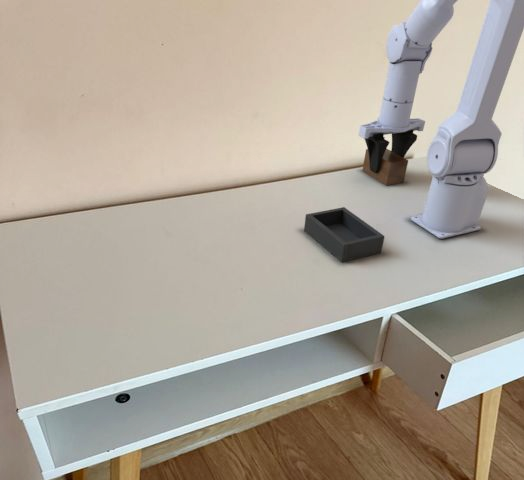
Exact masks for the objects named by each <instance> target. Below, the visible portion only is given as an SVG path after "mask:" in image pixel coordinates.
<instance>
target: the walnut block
mask: <svg viewBox="0 0 524 480" xmlns="http://www.w3.org/2000/svg"><path fill="white" fill-rule="evenodd" d="M408 164H409V160H408V159H407V158H405V157H404V158H403V157H401V156H399V155H398V154H396V153H394V152H392V151H391V150H390V149H388V147H387V148H386V150H385V153H384V155H383V159H382V163H381V167H380V170H379V172H378V173H374V172H372V171H371V170H370V162H369V153H368V148H366V149H365V154H364V160H363V165H362V170H361V171H362V172H364V173H365V174H367V175H368V176H369V177H372V178H373V179H375V180H376V181H378V182H380V183H381V184H383V185H385V186H390V185H396V184H402V183H404V181H405V178H406V173H407V168H408Z"/></svg>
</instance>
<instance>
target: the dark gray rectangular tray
mask: <svg viewBox="0 0 524 480" xmlns="http://www.w3.org/2000/svg"><path fill="white" fill-rule="evenodd" d="M303 232H305V233H306V234H307V235H308V236H309V237H310V238H312V239H313V240H314V241H315V242H317V243H318V244H319V245H320V246H321V247H322V248H324V249H325V250H326V251H327V252H328V253H330V254H331V255H332V256H333V257H335V259H337V260H338V261H339V262H340V263H345V262H349V261H354V260H357V259H361V258H365V257H370V256H374V255H377V254H381V253H382V250H383V245H384V242H385V236H386V235H384V234H382V233H381V232H379V231H378V230H377V229H375V228H374V227H373V226H371V225H370V224H369V223H367V222H366V221H364V220H363V219H361V218H360V217H358V216H357V215H356V214H354V213H353V212H351V211H350V210H349V209H347V208H346V207H345V206H342V207H338V208H331V209H327V210H326V209H325V210H321V211H316V212H311V213H306V214H305V217H304V228H303Z"/></svg>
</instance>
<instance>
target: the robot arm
mask: <svg viewBox="0 0 524 480" xmlns="http://www.w3.org/2000/svg"><path fill="white" fill-rule="evenodd" d="M457 2H458V0H419V2H418V4H417V5H416V6H415V7H414V9H413V11H412V12H411V13H410V15H409V16H408V18H407V19H406V21H405V22H400V24H394V25H393V26H392V27H391V29H390V31H389V32H388V35H387V38H386V44H385V52H386V57H387V60H388V61H389V62H388V69H387V73H386V79H385V84H384V89H383V95H382V101H381V106H380V111H379V116H378V117H377V120H375V121H370V122H369V123H366V124H360V125H359V130H358V136H359V137H360V138H363V140H364V141H365V144H366V147H367V148H366V149H368V153H369V162H370V170H371V171H372V172H374V173H378V172H379V170H380V167H381V163H382V159H383V155H384V153H385V150H386V148H387V149H388V147H389V145H390V143H391V150H390V151H392V152H394V153H396V154H398V155H399V156H401V157H403V158H405V156H406V155H407V153H408V151H409V150H410V148H411V147H412V146H413V145H414V144H415V143H416V141H417V140H418V135H417V134H416V133H414V131H415V132H424V128H425V124H426V120H423V119H421V118H419V117H418V118H417V117H416V118H411V115H412V110H413V105H414V101H415V96H416V92H417V87H418V82H419V79H420V75H421V74H422V73H423V71H424V69H425V66H426V62H427V61H428V60H429V58H430V56H431V54H432V51H433V47H432V46H433V42H434V41H435V40H436V38H437V37H438V36H439V34H440V33H441V32H442V31H443V30H444V28H445V27H446V26H447V25H448V23H449V22H451V19H452V18H453V17H454V12H455V8H454V7H455V6H454V5H455V4H456V3H457ZM523 32H524V0H489V4H488V7H487V10H486V14H485V17H484V20H483V24H482V26H481V30H480V34H479V36H478V40H477V43H476V46H475V49H474V53H473V56H472V59H471V63H470V66H469V69H468V73H467V75H466V79H465V82H464V85H463V89H462V92H461V95H460V99H459V102H458V105H457V108H456V111H455V112H454V113H453V114H452V115H450V116H449V117H448V118H446V119H445V120H444V121H442V122H441V123H440V124H439V125H438V127H437V131H436V134H435V136H434V138H433V139H432V141H431V142H430V144H429V146H428V149H427V152H426V165H427V168H428V170H429V173H430V175H432V178H431V182H430V186H429V189H428V194H427V197H426V200H425V205H424V209H423V213H422V214H419V215H413V216H411V217H410V220H411V221H412V222H413V223H415V224H416V225H418V226H419V227H421V228H422V229H424V230H425V231H427V232H429V233H430V234H431V235H433V236H434V237H436V238H438V239H441V240H443V239H446V238H450V237H455V236H460V235H463V234H467V233H472V232H475V231H476V232H477V231H480V230H481V226H480V225H479V221H480V217H481V215H482V213H483V208H484V206H485V203H486V199H487V197H488V193H489V188H488V182H487V179H486V178H485V177H484V175H485V174H488V173H490V172H491V170H493V169H494V166H495V165H496V163H497V159H498V155H499V143H500V140H501V138H502V135H503V133H502V132H501V129H500V127H498V125H497V123H496V122H495V121H494V120H493V117H494V114H495V111H496V108H497V105H498V103H499V100H500V96H501V94H502V91H503V88H504V85H505V83H506V80H507V77H508V75H509V71H510V69H511V66H512V64H513V60H514V58H515V56H516V55H515V54H516V52H517V49H518V46H519V43H520V40H521V37H522V35H523ZM385 135H391V142H390V141H388V140H387V139H385V138H386V137H385Z"/></svg>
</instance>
